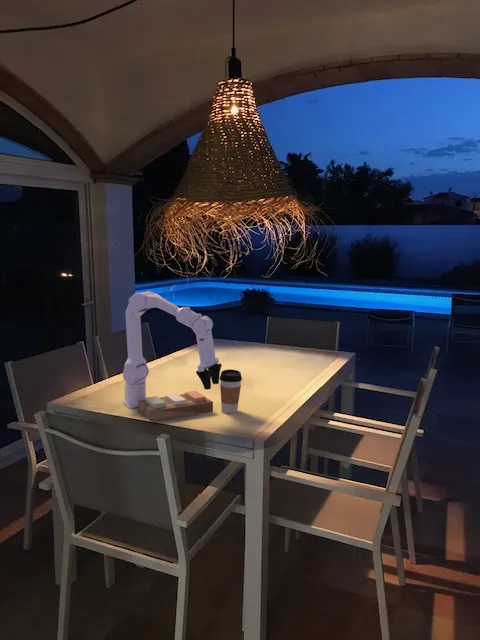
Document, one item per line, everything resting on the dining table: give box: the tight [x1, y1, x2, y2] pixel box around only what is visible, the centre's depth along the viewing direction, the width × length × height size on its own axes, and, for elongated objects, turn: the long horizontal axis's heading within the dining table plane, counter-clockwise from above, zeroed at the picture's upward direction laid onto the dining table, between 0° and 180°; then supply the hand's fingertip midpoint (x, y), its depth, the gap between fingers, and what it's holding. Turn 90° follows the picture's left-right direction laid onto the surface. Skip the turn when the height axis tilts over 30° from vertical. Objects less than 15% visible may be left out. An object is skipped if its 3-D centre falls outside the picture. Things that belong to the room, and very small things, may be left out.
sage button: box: [145, 396, 166, 409], centre depth 195 cm, size 9×4×4 cm, turn 30°
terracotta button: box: [184, 390, 207, 402], centre depth 203 cm, size 9×4×4 cm, turn 30°
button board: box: [137, 393, 214, 423], centre depth 199 cm, size 14×24×4 cm, turn 120°
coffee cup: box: [219, 369, 243, 415], centre depth 199 cm, size 8×8×15 cm
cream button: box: [164, 393, 186, 406], centre depth 199 cm, size 9×4×4 cm, turn 30°
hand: (211, 386), depth 195 cm, fingers open, 7 cm apart
